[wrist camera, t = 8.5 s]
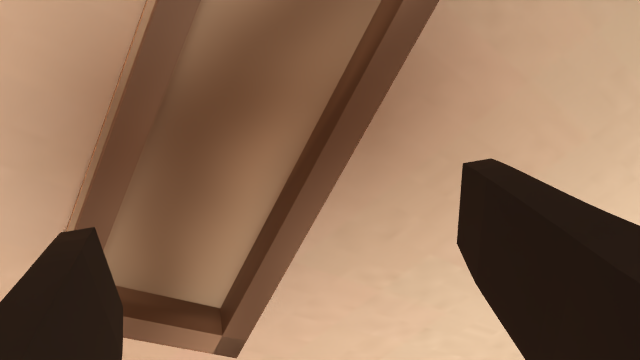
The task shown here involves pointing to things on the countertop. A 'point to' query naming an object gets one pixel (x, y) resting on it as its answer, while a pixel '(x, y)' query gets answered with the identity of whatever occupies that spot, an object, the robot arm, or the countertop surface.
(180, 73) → the rack
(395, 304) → the countertop surface
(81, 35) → the countertop surface
